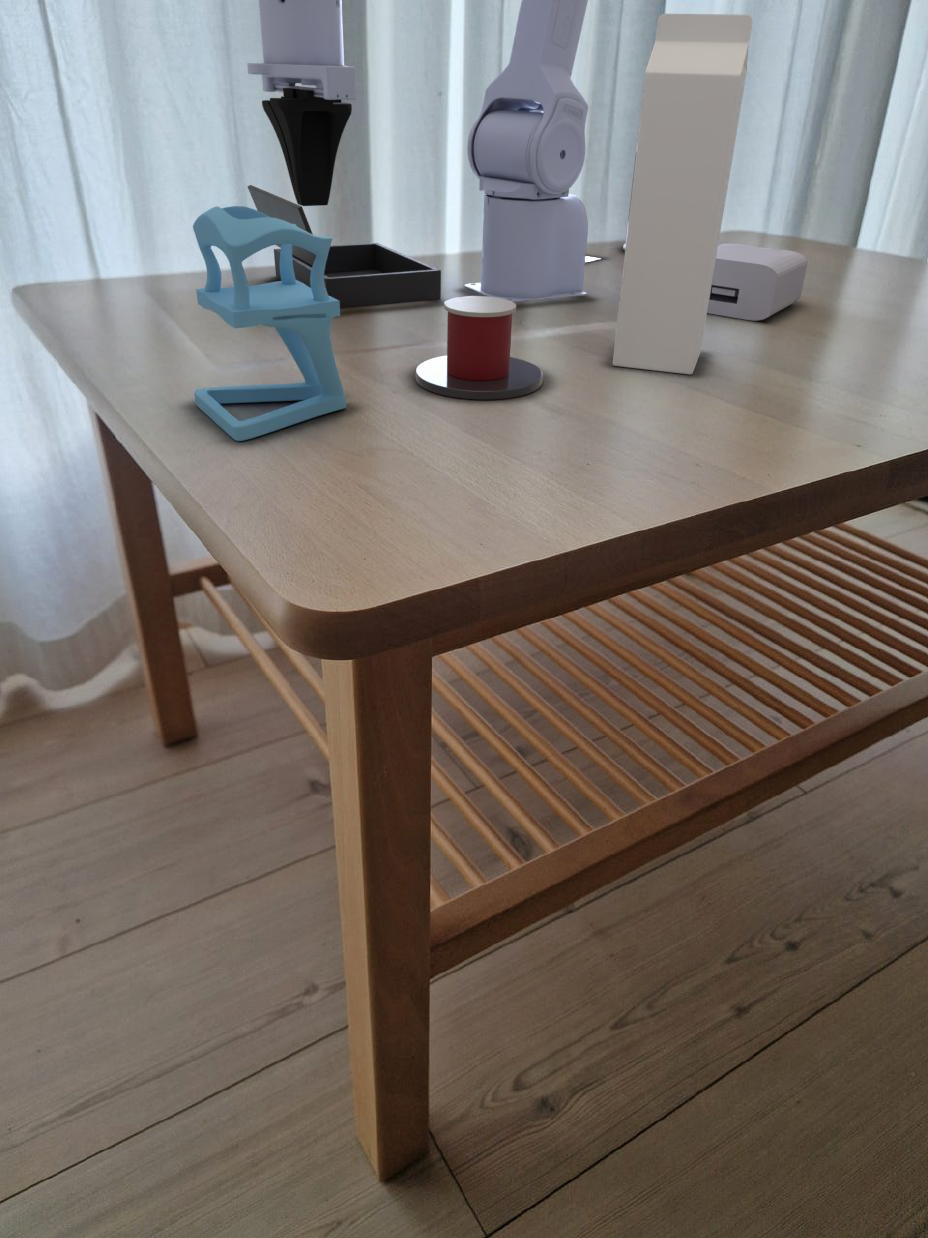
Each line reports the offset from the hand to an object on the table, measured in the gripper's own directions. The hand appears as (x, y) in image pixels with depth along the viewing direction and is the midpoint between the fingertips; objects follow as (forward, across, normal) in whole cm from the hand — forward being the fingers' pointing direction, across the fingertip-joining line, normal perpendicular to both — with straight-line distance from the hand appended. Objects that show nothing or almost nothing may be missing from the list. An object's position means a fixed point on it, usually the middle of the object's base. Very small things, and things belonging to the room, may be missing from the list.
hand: (312, 204), depth 69 cm
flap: (+3, -12, +2) cm, 12 cm away
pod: (+9, +17, +5) cm, 20 cm away
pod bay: (+9, -12, +8) cm, 17 cm away
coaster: (+9, +17, +6) cm, 21 cm away
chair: (+10, +18, -10) cm, 23 cm away
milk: (+10, +18, +20) cm, 29 cm away
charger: (+10, +6, +42) cm, 43 cm away
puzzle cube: (+10, -19, +36) cm, 42 cm away
